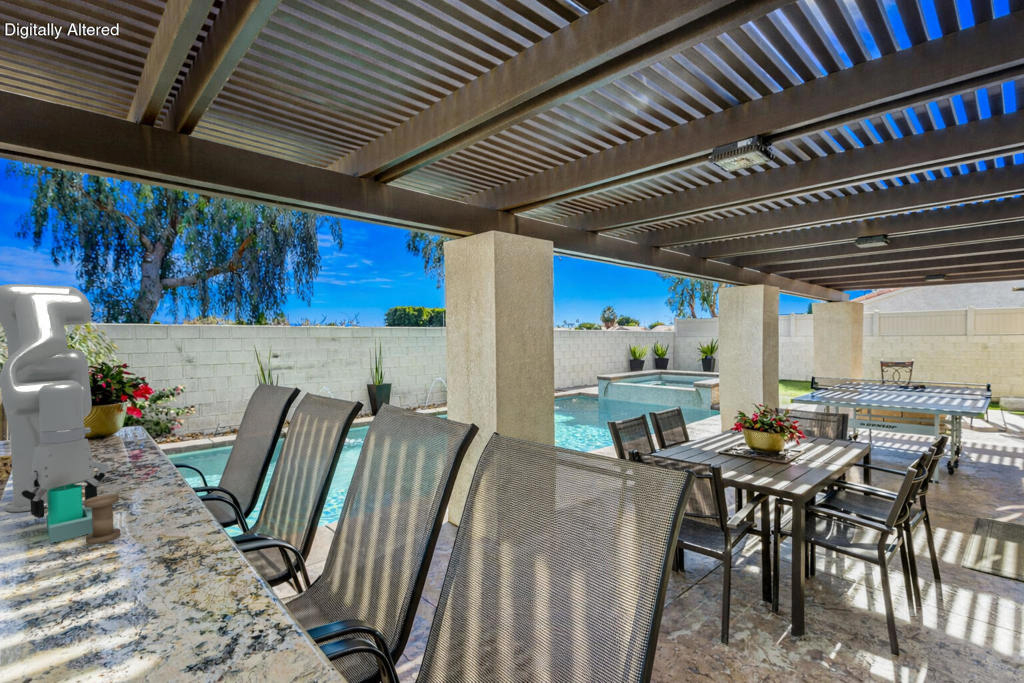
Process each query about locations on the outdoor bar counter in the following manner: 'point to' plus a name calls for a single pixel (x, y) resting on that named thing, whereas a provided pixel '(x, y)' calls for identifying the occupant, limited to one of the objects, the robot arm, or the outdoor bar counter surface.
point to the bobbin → (102, 518)
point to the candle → (64, 504)
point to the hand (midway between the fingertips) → (65, 509)
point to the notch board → (71, 527)
